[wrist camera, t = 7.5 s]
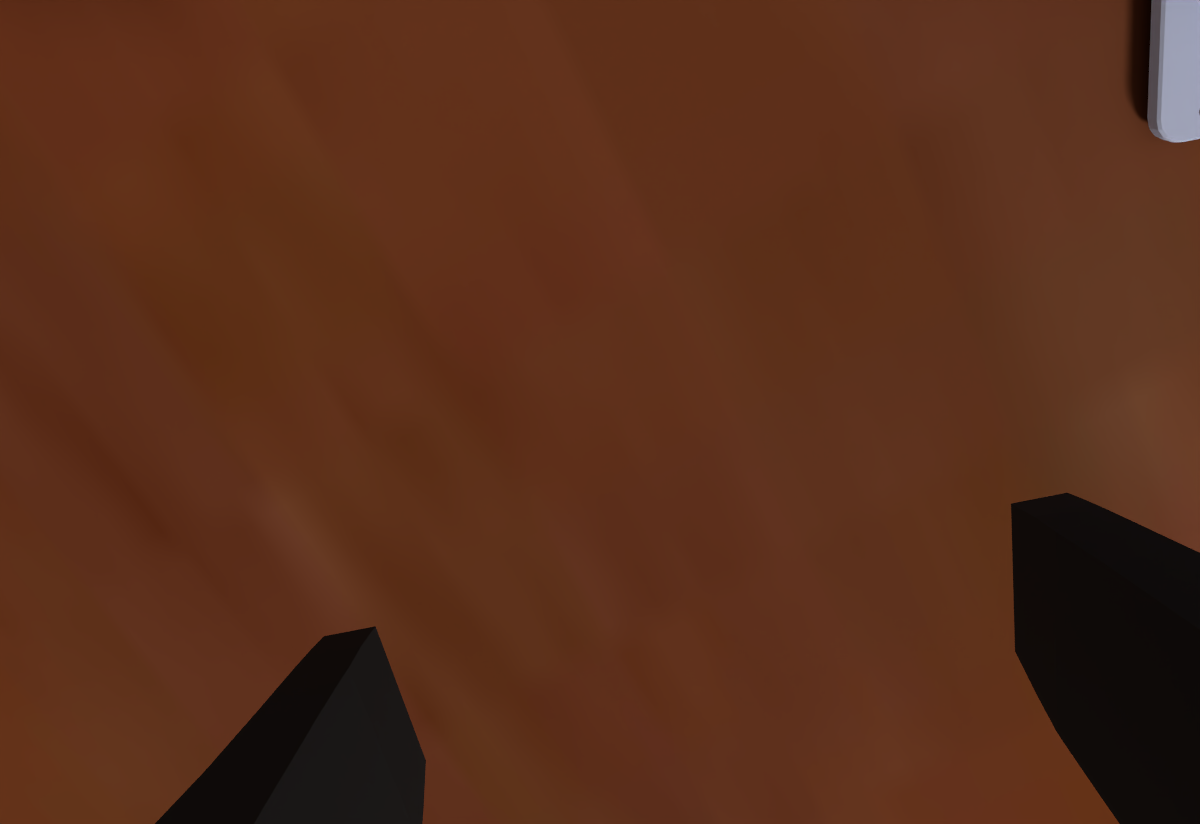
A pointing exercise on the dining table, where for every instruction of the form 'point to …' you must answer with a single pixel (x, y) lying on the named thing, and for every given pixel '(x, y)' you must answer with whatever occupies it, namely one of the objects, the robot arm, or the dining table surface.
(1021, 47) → the dining table surface
